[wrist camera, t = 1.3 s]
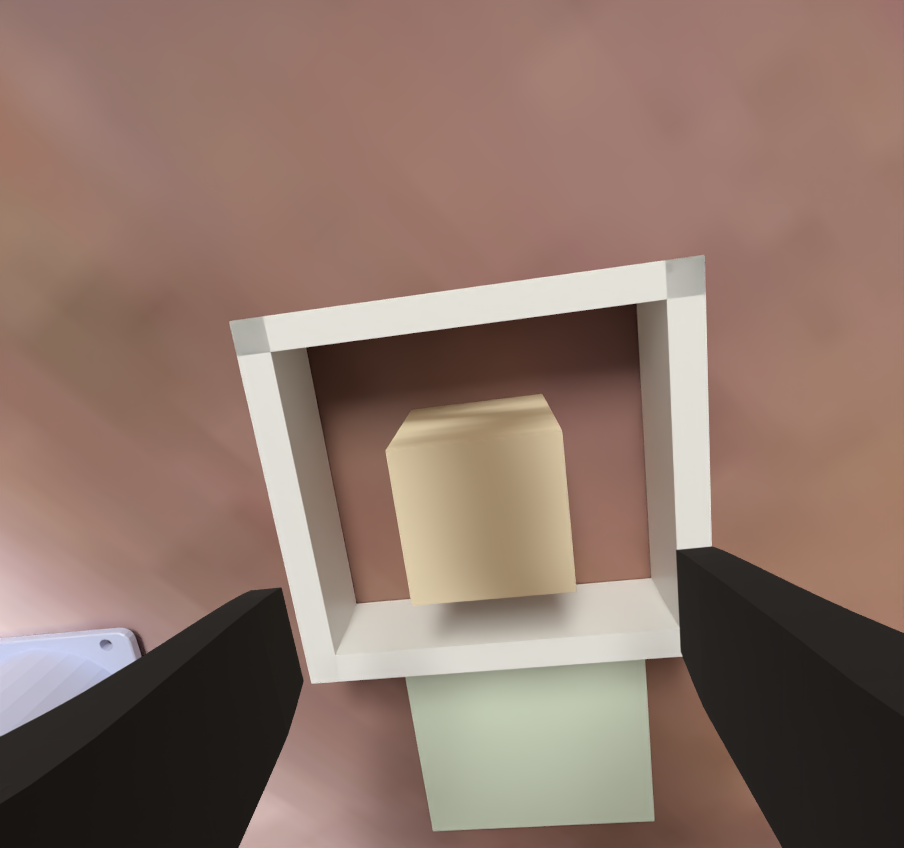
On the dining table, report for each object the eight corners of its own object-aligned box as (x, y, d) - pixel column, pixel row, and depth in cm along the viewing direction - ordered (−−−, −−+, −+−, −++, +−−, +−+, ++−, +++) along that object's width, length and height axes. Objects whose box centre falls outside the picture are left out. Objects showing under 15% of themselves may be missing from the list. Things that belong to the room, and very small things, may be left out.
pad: (434, 819, 23) (432, 831, 22) (401, 634, 21) (399, 643, 20) (650, 809, 22) (654, 821, 21) (639, 615, 20) (643, 623, 19)
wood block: (430, 528, 20) (412, 605, 15) (411, 409, 19) (385, 450, 14) (553, 515, 19) (576, 591, 14) (542, 393, 18) (562, 430, 13)
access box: (335, 628, 21) (311, 683, 18) (270, 316, 18) (229, 321, 15) (680, 600, 20) (714, 654, 17) (667, 261, 17) (704, 255, 14)
